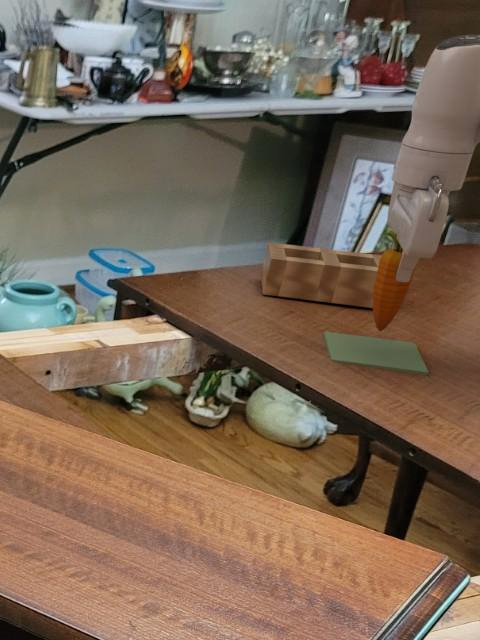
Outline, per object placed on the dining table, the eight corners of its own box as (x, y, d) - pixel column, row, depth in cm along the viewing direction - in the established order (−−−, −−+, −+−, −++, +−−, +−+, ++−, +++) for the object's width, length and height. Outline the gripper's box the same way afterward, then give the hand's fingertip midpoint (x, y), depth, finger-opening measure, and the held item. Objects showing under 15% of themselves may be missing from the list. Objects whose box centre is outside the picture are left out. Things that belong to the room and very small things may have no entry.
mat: (413, 348, 164) (415, 342, 164) (427, 377, 153) (429, 372, 153) (322, 336, 166) (324, 331, 166) (330, 364, 156) (331, 359, 155)
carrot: (385, 338, 155) (414, 229, 147) (354, 329, 158) (381, 222, 150) (405, 332, 157) (435, 225, 149) (374, 323, 161) (402, 217, 153)
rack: (376, 291, 189) (387, 255, 186) (384, 309, 180) (396, 272, 177) (260, 277, 193) (268, 242, 189) (262, 294, 184) (271, 258, 180)
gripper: (470, 188, 137) (434, 298, 144) (442, 159, 154) (411, 259, 161) (416, 183, 138) (383, 292, 145) (394, 155, 155) (366, 254, 162)
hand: (398, 274), depth 153 cm, fingers closed on carrot, 5 cm apart
